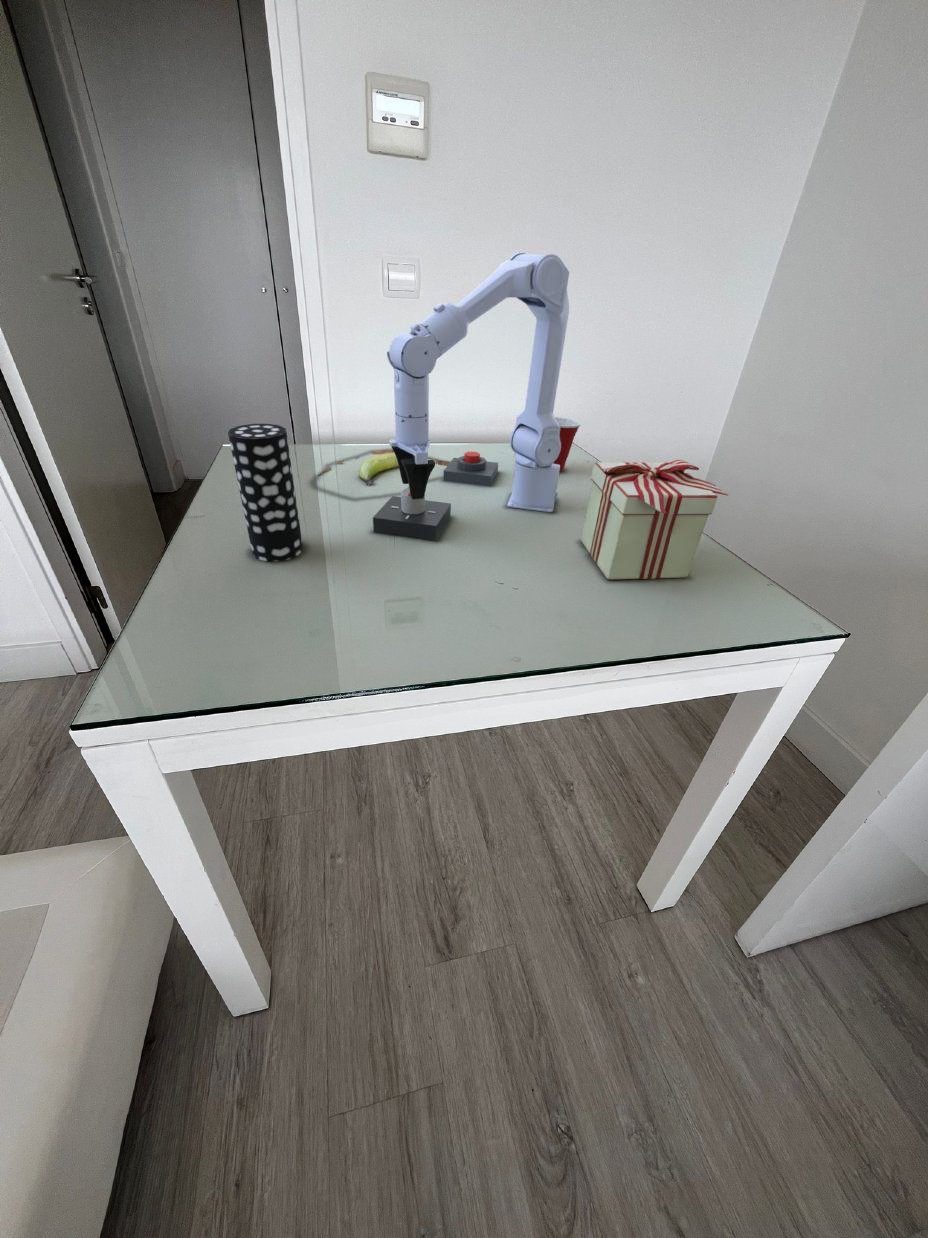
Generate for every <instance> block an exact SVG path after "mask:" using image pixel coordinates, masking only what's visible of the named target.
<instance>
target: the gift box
mask: <svg viewBox="0 0 928 1238" xmlns="http://www.w3.org/2000/svg"><path fill="white" fill-rule="evenodd" d="M685 470H691V471H699V470H700V468H699V467H698V466H696V465H695V464H692V463H690V462H688V461H686V460H684V459H676V460H673V461H669V462H665V461H664V462H643V461H642V462H639V461H638V462H637V461H636V462H630V461H628V462H625V461H623V462H609V461H607V462H606V461H605V462H601V461H600V462H598V461H597V462H594V463H593V468H592V472H591V478H590V480H591V481H592V484H591V490H590V494H589V499H588V504H587V509H586V512H585V513H586V514H585V518H584V524H583V530H582V533H581V538H580V541H581V543H582V544H583V546H584V547H585V549H586V550H587V552H588V553H589V554H590V556H591V558H592V559H593V561H594V563H595V564H596V565H597V567H598V568H599V569H600V571H601V572H602V573H603V575H604V576H605V578H606V579H607V580H614V581H617V580H655V579H656V580H657V579H683V578H684V579H685V578H688V576H689V573H690V570H691V568H692V566H693V565H692V564H693V561H694V558H695V556H696V553H697V551H698V547H699V544H700V542H701V538H702V535H703V532H704V529H705V526H706V523H707V522H708V521H707V520H708V518H709V516H710V515H713V512H714V509H715V506H716V504H717V500H718V495H717V494H719V495H722V496H723V495H724V496H729V494H728V493H726V492H724V491H723V490H721V488H719V487H718V486H717V485H716V484H715V483H711V482H710V481H706V480H703V479H700V478H696V477H694V476H693V475H691V474H689V473H688V472H687V471H685Z"/></svg>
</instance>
